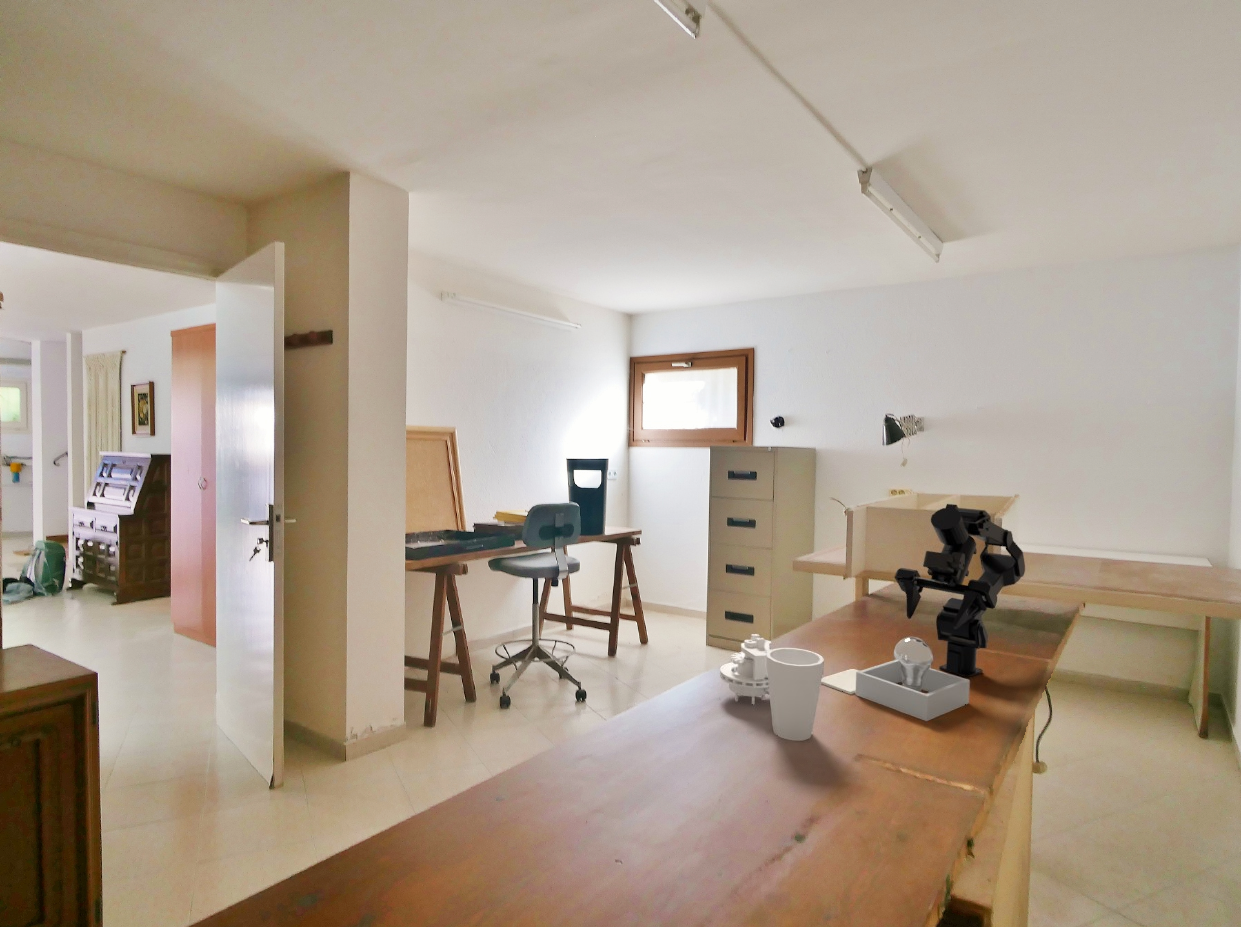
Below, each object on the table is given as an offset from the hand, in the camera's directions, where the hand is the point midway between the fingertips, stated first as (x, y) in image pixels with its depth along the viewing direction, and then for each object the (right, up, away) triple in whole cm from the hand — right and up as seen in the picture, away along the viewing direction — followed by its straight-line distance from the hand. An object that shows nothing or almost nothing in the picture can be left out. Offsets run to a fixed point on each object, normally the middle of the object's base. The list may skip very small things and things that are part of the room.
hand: (931, 622), depth 138 cm
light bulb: (-6, -14, -5) cm, 16 cm away
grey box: (-6, -14, -5) cm, 16 cm away
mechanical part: (-37, -13, -7) cm, 40 cm away
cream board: (-15, -13, +4) cm, 20 cm away
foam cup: (-33, -14, -21) cm, 41 cm away
